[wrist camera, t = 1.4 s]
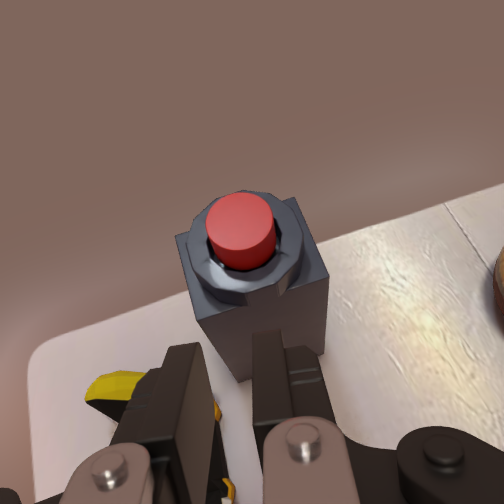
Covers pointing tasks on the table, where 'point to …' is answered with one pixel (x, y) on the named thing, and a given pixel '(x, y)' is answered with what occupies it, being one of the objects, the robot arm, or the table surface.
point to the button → (241, 230)
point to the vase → (499, 280)
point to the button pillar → (258, 288)
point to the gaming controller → (114, 404)
